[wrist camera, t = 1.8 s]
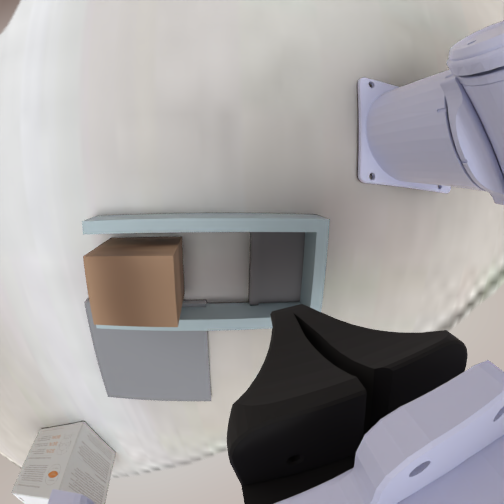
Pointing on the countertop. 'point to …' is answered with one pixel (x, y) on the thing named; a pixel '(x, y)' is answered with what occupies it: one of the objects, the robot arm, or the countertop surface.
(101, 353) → the coaster
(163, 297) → the block
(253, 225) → the u-shaped bracket
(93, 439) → the small box
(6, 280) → the countertop surface
